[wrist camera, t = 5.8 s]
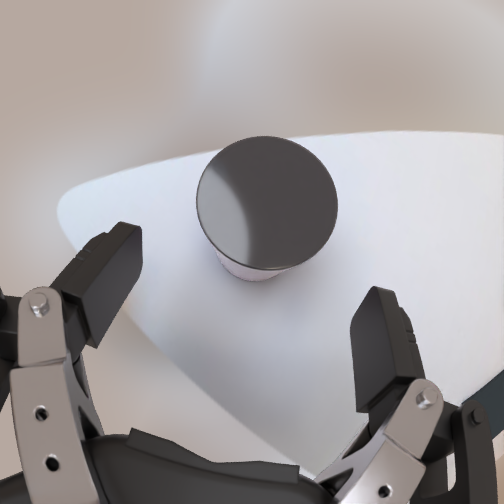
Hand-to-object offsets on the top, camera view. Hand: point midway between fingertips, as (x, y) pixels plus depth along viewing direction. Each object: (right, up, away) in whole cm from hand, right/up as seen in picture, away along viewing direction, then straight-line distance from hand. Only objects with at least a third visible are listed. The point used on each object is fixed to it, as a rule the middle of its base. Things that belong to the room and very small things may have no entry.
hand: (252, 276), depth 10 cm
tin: (0, +1, +8) cm, 8 cm away
